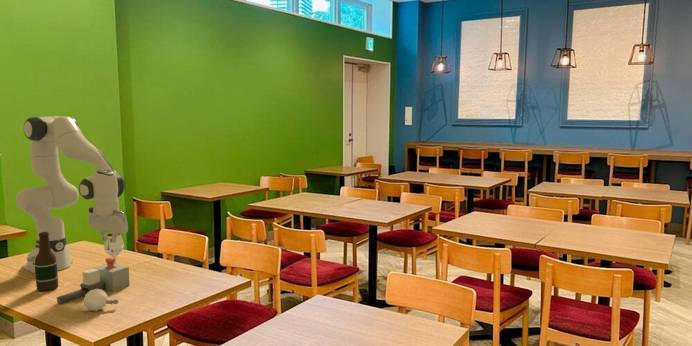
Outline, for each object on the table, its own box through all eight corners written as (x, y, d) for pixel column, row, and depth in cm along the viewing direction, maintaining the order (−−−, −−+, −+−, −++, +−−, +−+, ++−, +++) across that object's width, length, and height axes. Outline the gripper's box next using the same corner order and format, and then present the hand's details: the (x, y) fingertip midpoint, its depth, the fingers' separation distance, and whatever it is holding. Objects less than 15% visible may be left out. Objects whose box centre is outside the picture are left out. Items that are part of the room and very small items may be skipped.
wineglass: (126, 274, 227) (125, 235, 225) (107, 277, 222) (105, 237, 220) (123, 269, 234) (121, 231, 231) (104, 272, 229) (102, 234, 227)
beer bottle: (48, 293, 203) (44, 235, 200) (32, 291, 204) (27, 234, 201) (62, 286, 210) (59, 230, 208) (47, 285, 212) (42, 229, 209)
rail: (57, 303, 192) (56, 297, 191) (101, 288, 208) (101, 282, 208) (61, 304, 191) (60, 298, 190) (105, 289, 207) (105, 283, 207)
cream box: (80, 292, 202) (79, 271, 201) (94, 287, 207) (92, 267, 206) (90, 294, 199) (89, 274, 198) (103, 290, 205) (102, 269, 204)
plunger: (104, 279, 210) (103, 259, 209) (112, 277, 214) (111, 257, 212) (110, 280, 209) (109, 260, 208) (118, 278, 212) (116, 258, 211)
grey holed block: (93, 286, 211) (92, 268, 210) (110, 280, 218) (109, 262, 217) (113, 291, 205) (112, 272, 204) (129, 285, 212) (128, 266, 211)
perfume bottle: (86, 296, 190) (121, 297, 193) (81, 315, 184) (116, 315, 187) (85, 284, 185) (120, 285, 188) (79, 303, 179) (116, 304, 182)
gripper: (131, 210, 206) (132, 243, 207) (98, 205, 215) (100, 237, 217) (118, 212, 200) (119, 246, 202) (84, 208, 209) (86, 240, 211)
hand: (109, 241), depth 209 cm, fingers open, 4 cm apart
